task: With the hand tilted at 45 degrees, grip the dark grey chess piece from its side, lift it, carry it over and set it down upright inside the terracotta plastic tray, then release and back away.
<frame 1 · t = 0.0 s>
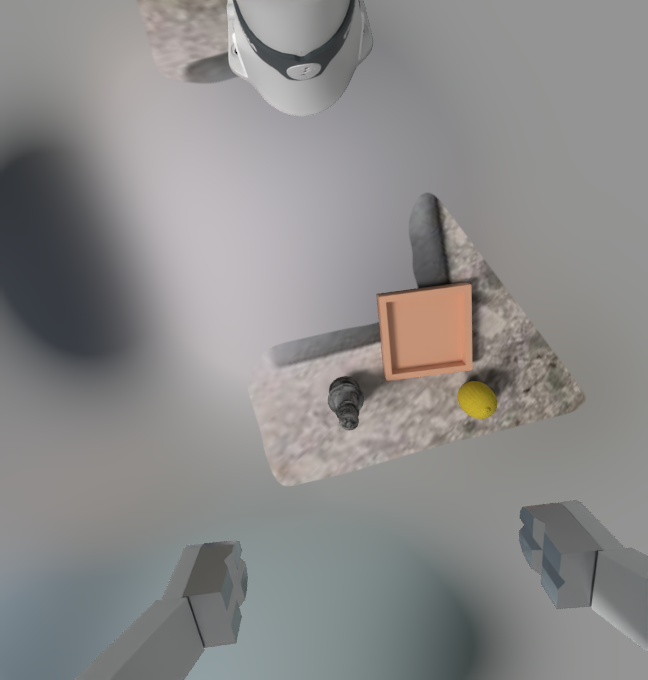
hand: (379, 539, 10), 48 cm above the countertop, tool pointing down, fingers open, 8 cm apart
tray: (422, 330, 58), on the countertop
dark grey chess piece: (344, 390, 62), on the countertop
lemon: (466, 388, 62), on the countertop
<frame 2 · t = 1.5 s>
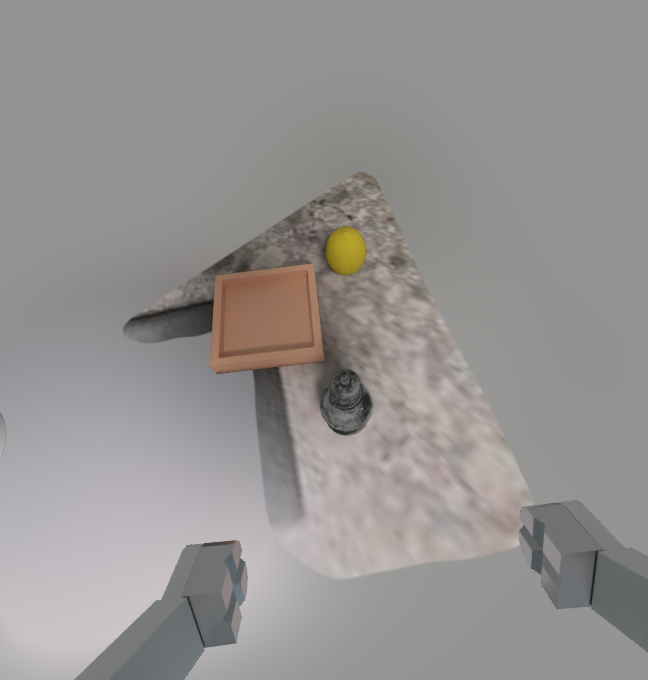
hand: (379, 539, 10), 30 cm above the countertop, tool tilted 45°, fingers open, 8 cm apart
tray: (269, 321, 49), on the countertop
dark grey chess piece: (346, 413, 43), on the countertop
lemon: (346, 271, 52), on the countertop
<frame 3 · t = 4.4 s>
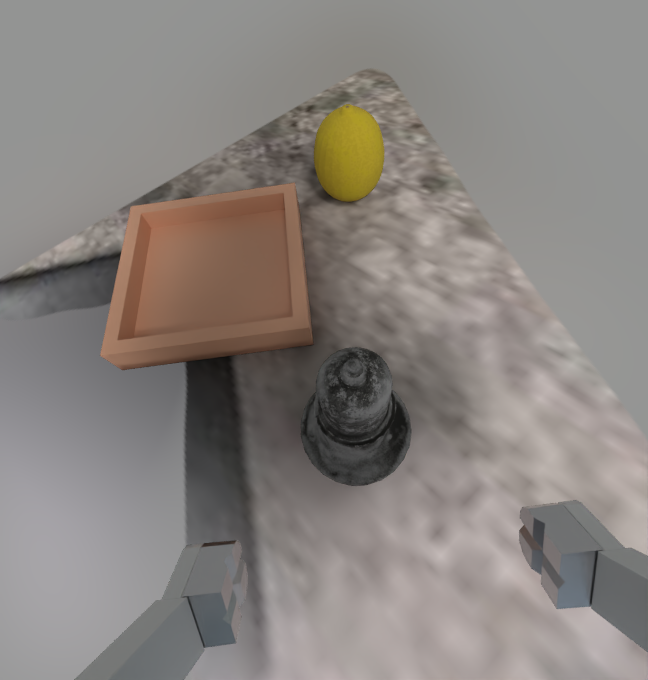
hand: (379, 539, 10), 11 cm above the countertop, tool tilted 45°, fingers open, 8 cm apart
tray: (220, 279, 29), on the countertop
dark grey chess piece: (355, 440, 22), on the countertop
lemon: (350, 200, 32), on the countertop
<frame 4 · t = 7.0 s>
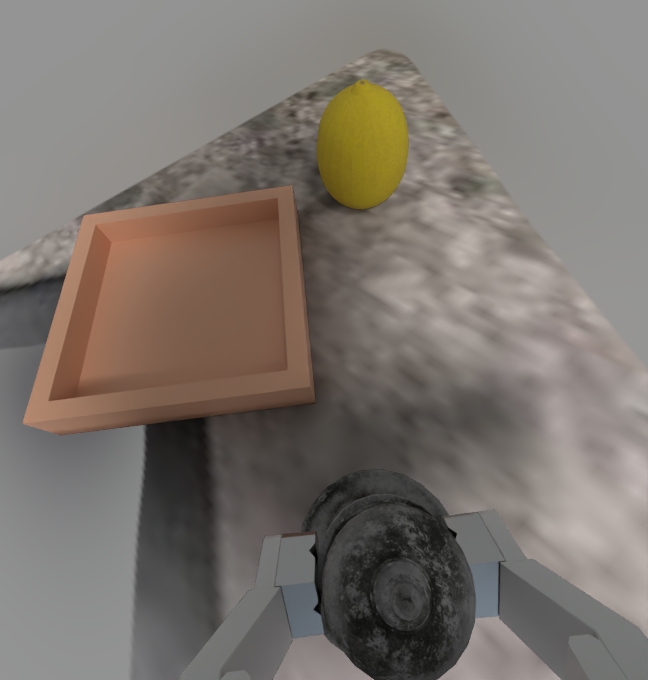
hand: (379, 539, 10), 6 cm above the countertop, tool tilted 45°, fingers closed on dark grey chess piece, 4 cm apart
tray: (195, 309, 22), on the countertop
dark grey chess piece: (375, 550, 16), on the countertop, touching gripper
lemon: (361, 207, 26), on the countertop
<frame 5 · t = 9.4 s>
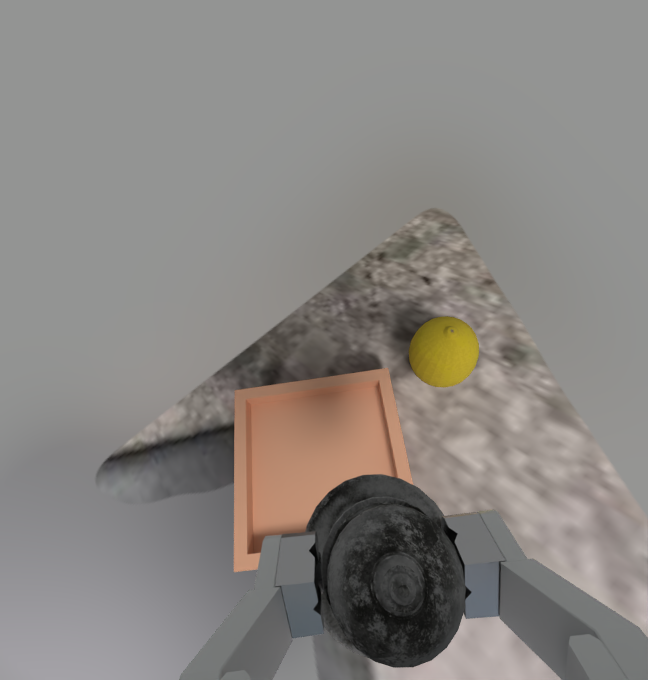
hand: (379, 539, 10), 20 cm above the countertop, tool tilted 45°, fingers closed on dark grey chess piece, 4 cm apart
tray: (322, 464, 31), on the countertop
dark grey chess piece: (375, 552, 17), point 13 cm above the countertop, touching gripper
lemon: (434, 371, 34), on the countertop
when the fingers open (9 cm above the countertop, at t = 11.9 s): dark grey chess piece stays where it is, resting on tray.
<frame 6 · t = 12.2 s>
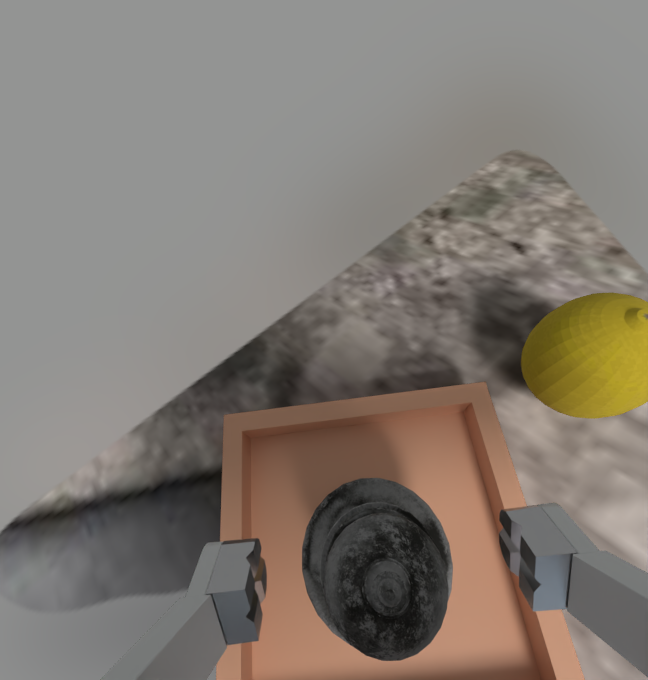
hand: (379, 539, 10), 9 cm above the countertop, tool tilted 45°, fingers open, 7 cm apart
tray: (373, 546, 18), on the countertop
dark grey chess piece: (372, 550, 17), point 1 cm above the countertop, touching tray
lemon: (548, 387, 21), on the countertop
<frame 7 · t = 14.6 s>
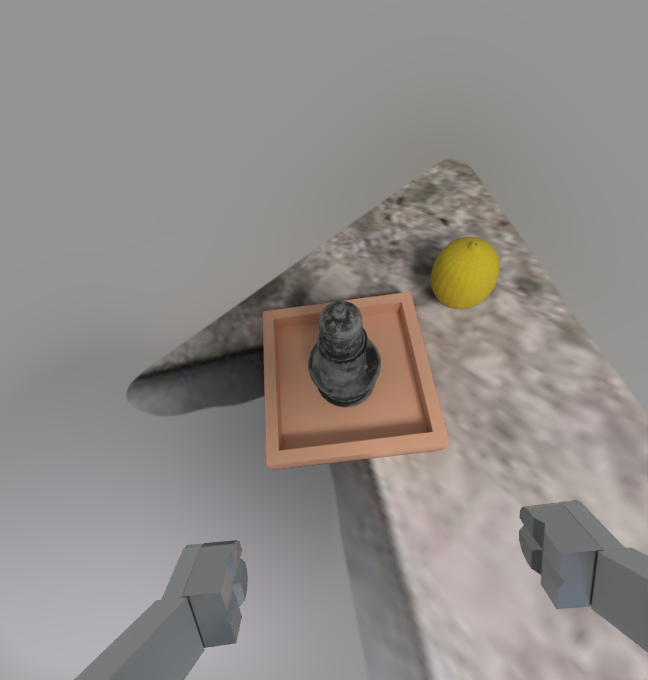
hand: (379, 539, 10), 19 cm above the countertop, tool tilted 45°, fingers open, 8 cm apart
tray: (346, 380, 33), on the countertop
dark grey chess piece: (345, 379, 32), point 1 cm above the countertop, touching tray
lemon: (452, 301, 36), on the countertop
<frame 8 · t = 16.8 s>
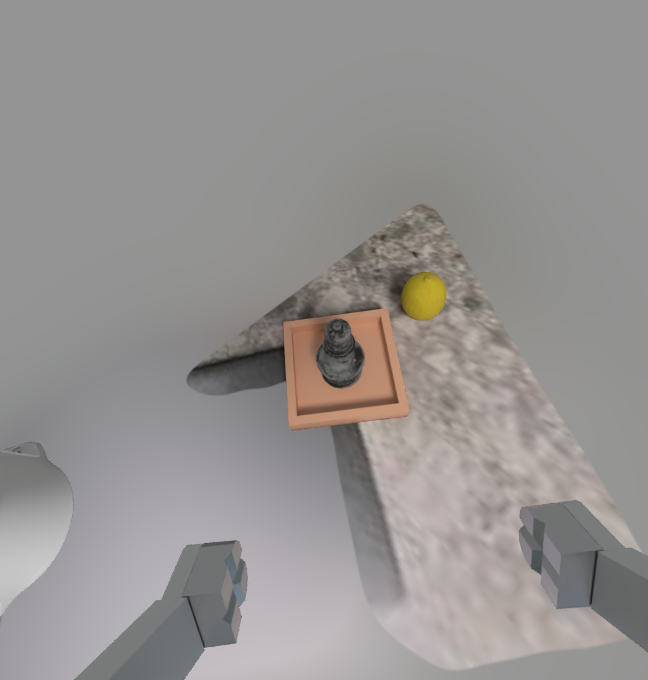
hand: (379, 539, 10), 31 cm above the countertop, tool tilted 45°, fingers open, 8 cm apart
tray: (342, 370, 47), on the countertop
dark grey chess piece: (341, 369, 46), point 1 cm above the countertop, touching tray
lemon: (418, 314, 50), on the countertop
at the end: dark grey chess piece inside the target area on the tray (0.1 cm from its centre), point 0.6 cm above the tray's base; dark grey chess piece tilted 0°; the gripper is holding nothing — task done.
